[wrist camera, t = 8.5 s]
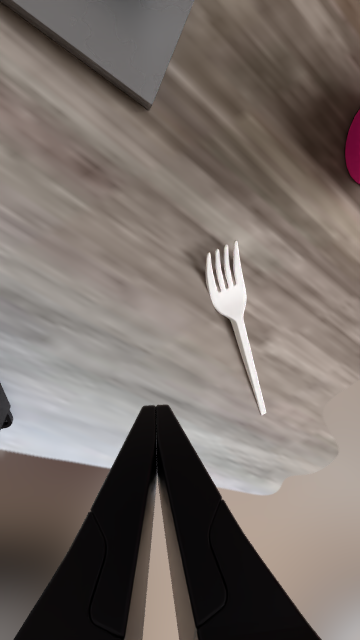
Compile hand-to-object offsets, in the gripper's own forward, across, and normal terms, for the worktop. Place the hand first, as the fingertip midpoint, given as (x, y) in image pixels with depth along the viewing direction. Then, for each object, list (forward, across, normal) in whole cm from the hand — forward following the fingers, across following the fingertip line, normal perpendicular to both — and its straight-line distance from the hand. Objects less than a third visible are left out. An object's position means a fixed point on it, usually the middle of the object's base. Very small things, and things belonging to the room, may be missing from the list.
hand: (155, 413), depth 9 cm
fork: (+14, -8, +7) cm, 18 cm away
